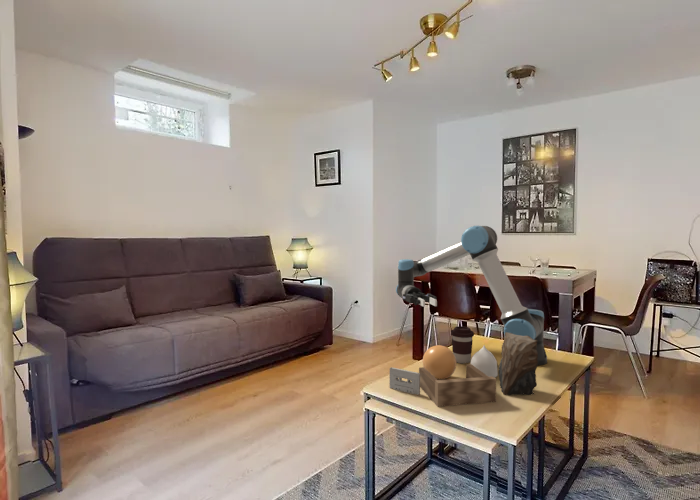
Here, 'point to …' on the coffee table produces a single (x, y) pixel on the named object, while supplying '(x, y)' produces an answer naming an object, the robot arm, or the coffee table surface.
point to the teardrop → (485, 362)
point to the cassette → (407, 385)
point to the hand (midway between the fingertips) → (429, 303)
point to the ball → (439, 361)
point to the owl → (518, 365)
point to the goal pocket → (459, 388)
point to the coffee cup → (462, 343)
